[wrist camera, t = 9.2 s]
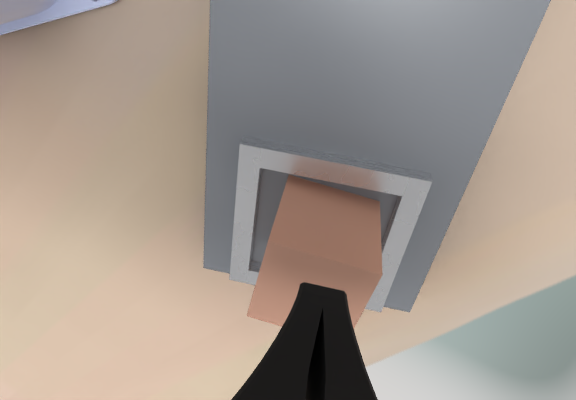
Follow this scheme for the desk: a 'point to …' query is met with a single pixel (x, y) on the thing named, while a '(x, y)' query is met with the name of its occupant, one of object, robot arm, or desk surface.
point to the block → (319, 249)
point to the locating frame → (331, 169)
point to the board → (359, 102)
